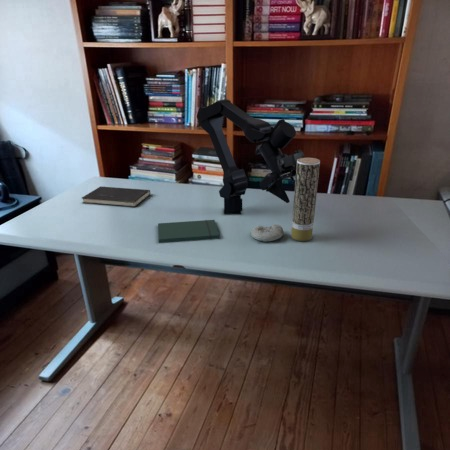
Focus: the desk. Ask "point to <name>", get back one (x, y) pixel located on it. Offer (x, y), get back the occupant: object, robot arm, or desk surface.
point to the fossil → (267, 233)
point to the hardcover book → (116, 196)
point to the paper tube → (305, 198)
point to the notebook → (187, 231)
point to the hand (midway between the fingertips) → (298, 199)
